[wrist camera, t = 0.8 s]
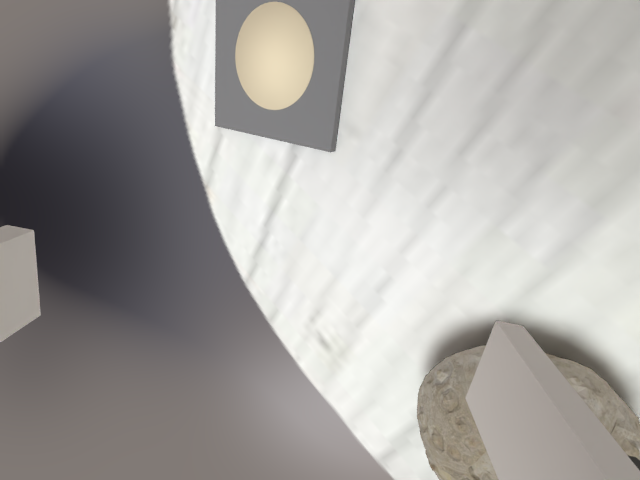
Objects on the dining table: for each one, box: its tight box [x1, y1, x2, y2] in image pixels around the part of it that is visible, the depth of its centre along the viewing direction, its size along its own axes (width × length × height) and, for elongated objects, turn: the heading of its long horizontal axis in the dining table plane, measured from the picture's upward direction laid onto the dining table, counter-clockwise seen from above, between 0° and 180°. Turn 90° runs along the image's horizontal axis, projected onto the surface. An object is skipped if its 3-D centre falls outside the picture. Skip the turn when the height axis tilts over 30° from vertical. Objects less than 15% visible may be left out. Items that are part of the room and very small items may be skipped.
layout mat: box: [215, 0, 355, 152], centre depth 39 cm, size 16×16×1 cm
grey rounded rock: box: [417, 346, 640, 480], centre depth 33 cm, size 18×18×10 cm
